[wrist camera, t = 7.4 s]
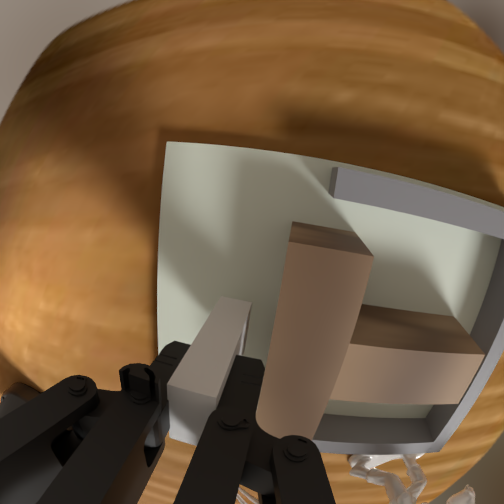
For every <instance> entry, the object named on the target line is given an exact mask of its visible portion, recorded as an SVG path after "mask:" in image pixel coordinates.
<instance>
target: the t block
mask: <svg viewBox="0 0 504 504" xmlns="http://www.w3.org/2000/svg"><path fill="white" fill-rule="evenodd" d="M373 259H374V256H373V254H372V253H371V252H370V250H369V249H368V248H367V247H366V245H365V244H364V243H363V241H362V240H361V239H360V238H359V236H358V235H357V234H356V233H355V232H351V231H346V230H340V229H335V228H329V227H323V226H318V225H312V224H306V223H300V222H294V221H292V226H291V231H290V236H289V241H288V247H287V253H286V259H285V265H284V271H283V277H282V283H281V288H280V294H279V299H278V305H277V310H276V316H275V321H274V327H273V332H272V337H271V342H270V347H269V353H268V358H267V363H266V368H265V373H264V378H263V382H262V387H261V392H260V397H259V402H258V406H257V411H256V421H257V423H258V425H259V426H260V428H261V429H263V430H264V431H265V432H267V433H268V434H270V435H272V436H275V437H277V438H279V439H281V438H282V437H284V436H289V435H299V436H303V437H306V438H308V439H310V440H311V441H312V439H313V437H314V435H315V432H316V430H317V428H318V425H319V423H320V421H321V418H322V416H323V414H324V411H325V409H326V406H327V404H328V401H329V399H332V400H342V401H353V402H366V403H383V404H419V405H427V404H458V403H459V401H460V400H461V398H462V396H463V395H464V393H465V391H466V390H467V388H468V386H469V384H470V383H471V381H472V379H473V377H474V375H475V374H476V372H477V370H478V368H479V366H480V364H481V362H482V360H483V358H484V356H485V354H484V352H483V351H482V350H481V349H480V347H479V346H478V345H477V344H476V342H475V341H474V340H473V339H472V337H471V336H470V335H469V334H468V333H467V331H466V330H465V329H464V328H463V327H462V325H461V324H460V323H459V322H458V321H457V319H456V318H455V317H454V316H446V315H438V314H430V313H423V312H415V311H408V310H401V309H393V308H386V307H379V306H373V305H366V304H362V301H363V298H364V294H365V291H366V287H367V283H368V279H369V275H370V272H371V268H372V263H373Z"/></svg>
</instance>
